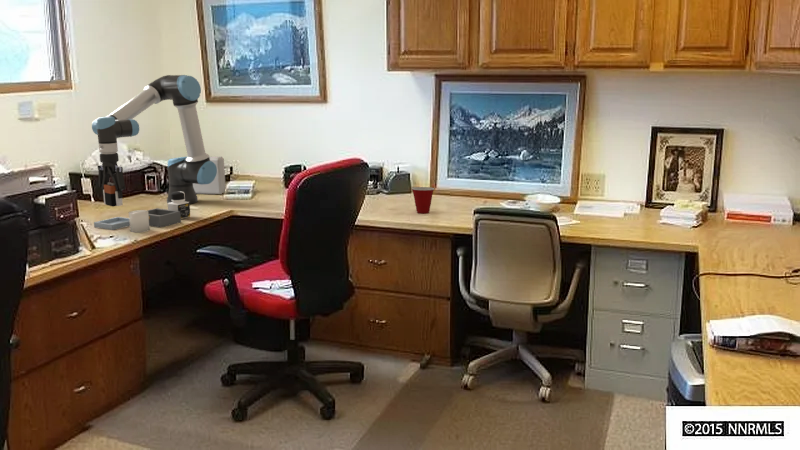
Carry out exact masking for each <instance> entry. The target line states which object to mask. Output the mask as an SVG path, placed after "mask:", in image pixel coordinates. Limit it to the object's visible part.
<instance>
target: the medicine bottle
mask: <svg viewBox="0 0 800 450" xmlns="http://www.w3.org/2000/svg"><path fill="white" fill-rule="evenodd" d="M171 201H172V202H170V203H168V204H167V210H174V211H180V214H181V220H183V219H187V218H190V217H191V209H190V208H191V207H190V205H191V204H190V203H189V202H186V201H185V193H184V192H181V191H177V192H173V193H171Z"/></svg>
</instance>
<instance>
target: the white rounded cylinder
mask: <svg viewBox="0 0 800 450" xmlns="http://www.w3.org/2000/svg"><path fill="white" fill-rule="evenodd" d="M128 218H129V223H130V226H129V231H130V233H145V232H148V231H151V228H150V227H151V226H149V215H148V211H147V210H145V209H140V210H132V211H129V212H128Z"/></svg>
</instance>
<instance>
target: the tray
mask: <svg viewBox="0 0 800 450" xmlns="http://www.w3.org/2000/svg"><path fill="white" fill-rule="evenodd" d="M93 226H94V228H97V229H105V230H110V231H115V230H117V229H118V230H119V229H123V228H127V227H130V223H129V217H123V216H116V217H112V218H111V217H110V218H106V219H102V220H99V221H94V222H93Z"/></svg>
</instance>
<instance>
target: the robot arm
mask: <svg viewBox="0 0 800 450" xmlns="http://www.w3.org/2000/svg"><path fill="white" fill-rule="evenodd" d="M201 92H202V87H201V84H200V82H199V81H198V80H197V79H196V78H195V77H194V76H193V75H188V74H187V75H186V74H166V75H162V76H161V77H158V78H157V79H155V80H153V81H151V82H150V83H149V84H147V85H146V86H144V88H143V90H142V91H140V92H139V93H138V94H136V95H135V96H133V97H132V98H131V99H130V100H128V101H126V102H125V103H123V104H122V105H120V106H119V107H118V108H116V109H115V110H114V111H112V112H111V113H109V114H108V115H106V116H99V117H97V118H96V119H94V120H93V121H92V122H91V130H92V132H93V133H94V134H95V135H97V139H98V141H97V142H98V151H99V153H100V154H99V161H100V163H102V164H101V165H97V171H98V172H97V174H98V188H101V190H102V196H103V203H104V205H106V203H105V193H104V185H105V184H108V182H110V177H111V178H112V181H113V182H112V183H114V185H115V187H116V190H115V195H116V206H115V207H120V206H124V205H123V203H124V202H123V191H124V190H126V184H125V178H124V173H123V172H124V171H123V170H124V169H123V168H124V167H123V166H118V162H119V161H120V159H119V153H118V151H119V147H118V139H119V138H129V137H130V138H131V137H134V136H135V137H136V136H138V134H139V133H140V124H139V123H138V120H135V118H136V117H138V116H139V115H140V114H142V113H144V111H147V109H148V108H150V107H151V106H153V105H154V104H155V105H159V103H160V102H163V101H167V100H171V101H172V104H173V106H174V107H175V108H176V109H177V111H178V112H177V113H178V117H179V121H180V126H181V131H182V136H183V139H184V145H185V149H186V150H185V151H186V153H187V154H186V155H187V156H180V157H174V158H169V159H168V161H167V174H168V175H167V176H168V184H169V185H168V187H169V189H168V193H167V196H166V204H167V205H168V203H170V202H172V201H171V193H173V192H177V191H181V192H184V193H185V201H186V202H189V203H190V205H191V204H195V203H197V202H198V196H197V194H196V193H195V190H194V188H193V183H195V184H201V185H202V184H210V183H211V182H212V181H213V180H214V179H215V177H216V174H217V167H216V165H215V163H214V162H212V161H210V158H209V156H210V155H209V154H208V153H206V149H205V145H204V139H203V133H202V131H201V124H200V120H199V115H198V111H197V104H198V103H199V98H200V96H201Z"/></svg>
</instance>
